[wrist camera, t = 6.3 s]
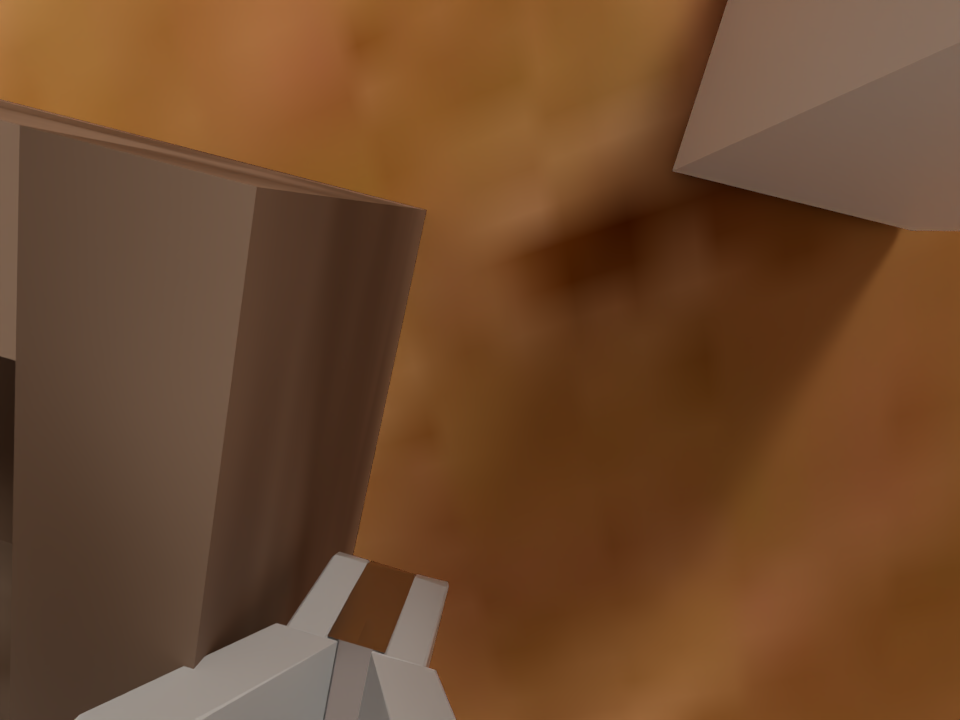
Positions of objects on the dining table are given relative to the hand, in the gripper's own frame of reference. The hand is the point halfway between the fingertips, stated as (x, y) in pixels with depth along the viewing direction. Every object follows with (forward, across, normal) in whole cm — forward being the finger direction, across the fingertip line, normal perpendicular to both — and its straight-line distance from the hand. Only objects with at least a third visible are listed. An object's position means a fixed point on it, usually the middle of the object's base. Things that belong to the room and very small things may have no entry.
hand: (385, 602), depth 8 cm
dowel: (+3, -5, -9) cm, 11 cm away
